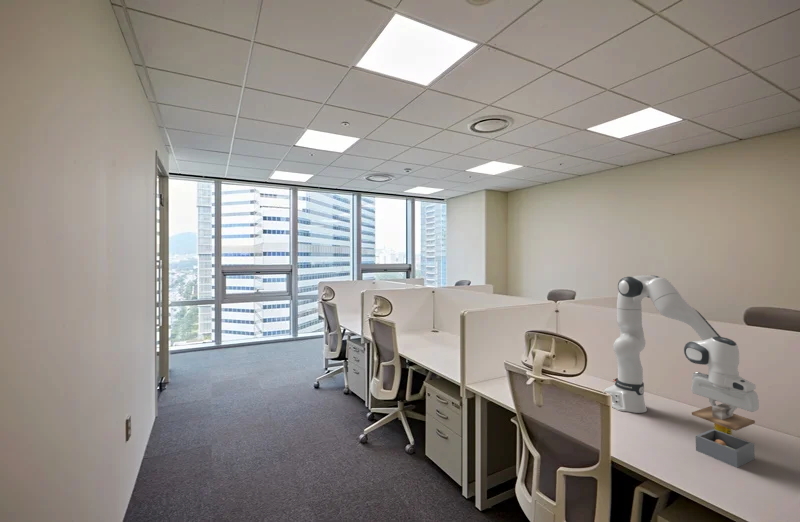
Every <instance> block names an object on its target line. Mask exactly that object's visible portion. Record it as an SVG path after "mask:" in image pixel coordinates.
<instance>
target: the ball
mask: <svg viewBox="0 0 800 522" xmlns="http://www.w3.org/2000/svg"><path fill="white" fill-rule="evenodd" d="M714 442H716V443H719V444H721V445H724V446H727V445H726V443H725V442H724V441H722V440H715V441H714Z"/></svg>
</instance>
